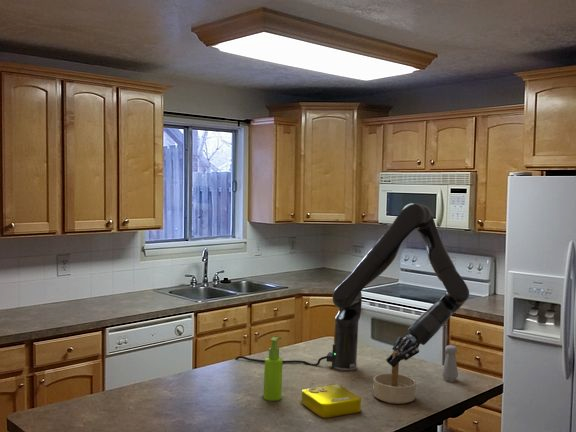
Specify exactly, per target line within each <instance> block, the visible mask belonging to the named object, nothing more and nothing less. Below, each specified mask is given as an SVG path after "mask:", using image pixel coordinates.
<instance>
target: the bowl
mask: <svg viewBox="0 0 576 432" xmlns="http://www.w3.org/2000/svg"><path fill="white" fill-rule="evenodd" d="M391 380H392V372H391V373H388V372H387V373H386V372H385V373H380V374H376V375H375V376H373V379H372V395H373V397H375V398H376V399H378V400H380V401H381V402H385V403H388V404H394V405H395V404H396V405H400V404H401V405H402V404H408V403H410V402H413V401H414V400H415V399H416V389H417V388H416V387H417V381H416V380H415V379H414V378H412V377H411V376H407V375H404V374H399V373H398V385H399V386H401V387H393V386H388V385H391Z"/></svg>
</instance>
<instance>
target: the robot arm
mask: <svg viewBox="0 0 576 432" xmlns="http://www.w3.org/2000/svg"><path fill="white" fill-rule="evenodd" d="M415 230H416V231H417V232H418V234H419V235H420V237H421V238H422V240H423V242H424V246H425V248H426V249H425V250H426V253H427V257H428V261H429V264H430V267H432V269H433V271H434V273H435V275H436V277H437V279H438V280H439V281H440V282H442V283H441V284H442V285H443V286H444V288H445V290H446V291H445V293H444V294H443V295H442V296H441V297H440V298H439V300H438V301H436V302H434V303H433V304H432V305H431V306H430V307H429V308H428V309H427V310H426V311H425V312H424V313H423V314H421V315H420V316H419V317H418V318H417V319H416V320H415V321H414V322H413V323H412V324H411V325H410V326H409V328H407V332H408V334H407V335H405V336H404V337H402V336H399V337H398V338H397V340H396V342H394V344H393V346H392V350H393V351H398V352H399V353H398V354H397V355H398V356H397V355H396V356H395V357H394V358H393V359H392V357H393V351H392V353H391V354H390V355H389V356H388V357H387V358H386V359H385V361H386V362H387V364H388V365H390V366H391V368H392V367H395V366H396V365H397V364H398V363H399V364H400V362H401V361H407V360H409V359H411V358H412V357H414V356H416V355H418V354H419V353H420V350H419V349H418V348H419V347H420V345H422V346H425V345H426V344H427V343H428V342H429V341H430V340H431V339H432V338H433V337H434V336H435V335H436V334H437V333H438V331H439V330H440V329H441V328H442V326H444V325H445V324H446V323H447V321H448V320H449V319H450V318H451V317H452V316H453V314H455V313H456V312H457V311H459V309H460V308H461V307H462V306H463V305H464V304H465V303H466V302H467V301H468V300H469V297H470V289H469V287H468V285H467V283H466V282H465V281H464V279H463V278H462V276H461V275H460V273H459V272H458V270H457V268H456V266H455V264H454V262H453V260H452V259H451V256H450V255H449V253H448V251H447V249H446V247H445V245H444V243H443V241H442V239H441V235H440V233H439V230H438V228H437V225H436V223H435V219H434V216H433V213H432V210H431V209H430V208H429V207H428V206H427V205H425V204H422V203H417V202H411V203H408V204H406V205H405V206H404V207H403V208H402V209H401V210H400V212H399V213H398V214H397V216H396V218H395V219H394V221H393V222H392V223H391V225H390V226H389V228H388V229H386V231H385V232H384V233H383V234H382V236H380V238H379V239H378V240H377V241H376V242H375V244H373V246H372V247H371V248H370V249H369V250H368V252H367V253H365V255H364V256H363V258H362V259H361V260H360V261H359V263H358V264H357V266H356V267H355V268H354V269H353V271H352V272H351V273H350V274H349V275H348V276H347V277H346V278H345V279H344V280H343V281H342V282H341V283H340V284H339V285H338V286H337V287H335V289H334V290H333V293H332V303H333V305H334V306H335V307H336V308H338V312H337V314H336V315H335V317H334V331H333V332H334V333H333V335H334V336H333V344H332V350H331V351H332V352H330V351H329V352H327V355H325V356H322V357H320V358H319V359H318V360H317V362H316V363H311V362H308V361H305V360H283V361H282V364H305V365H308V366H313V367H318V366H319V365H320V363H321V361H322V360H325V361H326V362H327V363H331V369H333V370H337V371H340V372H352V371H356V370H357V367H358V366H357V362H358V337H359V321H360V319H361V314H362V304H363V303H362V302H363V295H362V291H363V290H364V289H365V288H366V287H367V286H368V285H369V284H370V283H372V282H373V281H374V280H376V279H377V278H378V277H379V276H380V275H382V274H384V273H385V271H386V270H387V269H388V268H389V266H391V264H392V263H393V262H394V260H395V259H396V258H397V255H398V254H399V251H400V248H401V246H402V245H403V243H404V241H405V240H406V238H407V237H409V235H410V234H411V233H413V231H415ZM240 359H243V360H246V361H249V362H256V363H264V364H265V359H259V358H258V359H257V358H250V357H247V356H244V355H239V356H236V357H235V358H234V360H235V361H238V360H240Z"/></svg>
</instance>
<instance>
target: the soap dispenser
mask: <svg viewBox="0 0 576 432" xmlns="http://www.w3.org/2000/svg"><path fill="white" fill-rule="evenodd" d="M280 340H282V337H280V336H273V337H271V339H270V342H271V347H269V348H268V356H266V357H265V358H264V360H265V363H264V371H263V372H264V373H263V374H264V376H263V399H264V400H266V401H270V402H276V401H280V400H281V399H282V384H283V363H282V361H284V360H283V358H282V357H280V348H279V347H278V341H280Z"/></svg>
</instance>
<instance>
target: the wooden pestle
mask: <svg viewBox="0 0 576 432" xmlns="http://www.w3.org/2000/svg"><path fill="white" fill-rule="evenodd" d="M392 353H393V357H392V359H393V358H394V357H395V356H396V355H397V354H398V353H399V352H398V351H392ZM397 356H398V355H397ZM399 366H400V362H399V363H398V364H397V365H396V366H395V367H392V366H391V374H392V380H391V385H388V386H393V387H401V386H399V385H398V374H399V370H400V369H399V368H400V367H399Z"/></svg>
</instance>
